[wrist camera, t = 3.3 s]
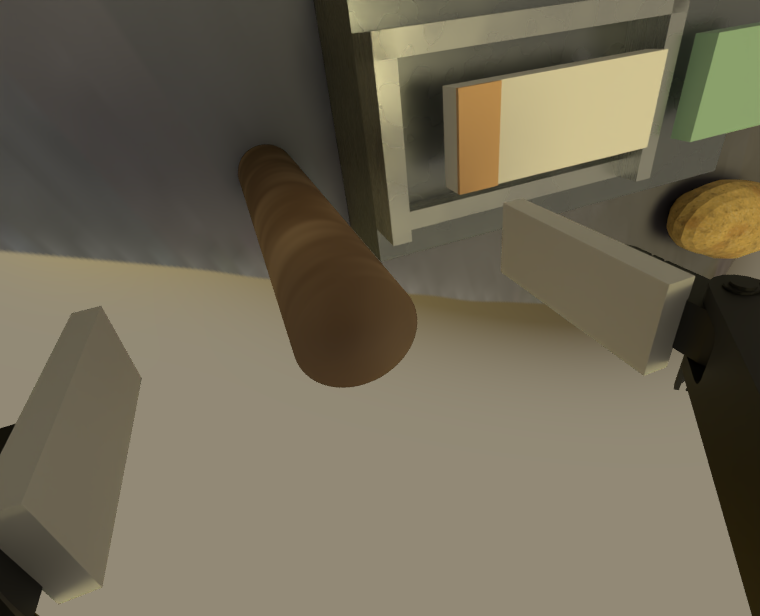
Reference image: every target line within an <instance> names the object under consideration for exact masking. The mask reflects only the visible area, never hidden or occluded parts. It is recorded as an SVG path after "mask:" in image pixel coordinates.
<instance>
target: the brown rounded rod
mask: <svg viewBox="0 0 760 616" xmlns="http://www.w3.org/2000/svg"><path fill="white" fill-rule="evenodd" d="M238 177H239V181H240V184H241V187H242V191H243V194H244V197H245V200H246V203H247V206H248V210H249V213H250V216H251V219H252V222H253V226H254V229H255V232H256V235H257V238H258V242H259V245H260V248H261V251H262V254H263V257H264V261H265V264H266V267H267V270H268V273H269V277H270V280H271V283H272V286H273V289H274V292H275V296H276V299H277V302H278V305H279V308H280V312H281V315H282V318H283V321H284V324H285V327H286V331H287V334H288V337H289V340H290V343H291V346H292V350H293V353H294V356H295V359H296V361H297V363H298V365H299V367H300V368H301V369H302V371H303V372H304V373H305V374H306V375H308V376H309V377H310V378H311V379H313V380H314V381H316V382H318V383H321V384H324V385H327V386H331V387H354V386H359V385H363V384H366V383H369V382H371V381H374V380H376V379H378V378H380V377H382V376H383V375H385V374H386V373H388V372H389V371H390V370H391V369H393V368H394V367H395V366H396V365H397V364H398V363H399V362H400V361H401V360H402V359H403V358H404V356H405V355H406V353H407V352H408V350H409V349H410V347H411V345H412V343H413V340H414V338H415V334H416V330H417V314H416V309H415V306H414V304H413V302H412V300H411V298H410V297H409V295H408V294H407V293H406V292H405V290H404V289H403V288H402V287H401V286H400V285H399V283H398V282H397V281H396V280H395V279H394V278H393V276H392V275H391V274H390V273H389V272H388V271H387V269H386V268H385V267H384V266H383V265H382V264H381V262H380V261H379V260H378V259H377V258H376V256H375V255H374V254H373V253H372V252H371V251H370V249H369V248H368V247H367V246H366V245H365V244H364V242H363V241H362V240H361V239H360V238H359V237H358V235H357V234H356V233H355V232H354V231H353V230H352V228H351V227H350V226H349V225H348V224H347V223H346V221H345V220H344V219H343V218H342V217H341V216H340V214H339V213H338V212H337V211H336V210H335V208H334V207H333V206H332V205H331V204H330V203H329V201H328V200H327V199H326V198H325V197H324V196H323V194H322V193H321V192H320V191H319V190H318V189H317V187H316V186H315V185H314V184H313V183H312V182H311V180H310V179H309V178H308V177H307V176H306V175H305V173H304V172H303V171H302V170H301V169H300V168H299V166H298V165H297V164H296V163H295V162H294V161H293V159H292V158H291V157H290V156H289V155H288V154H287V153H286V152H285V151H284V150H282V149H281V148H279V147H277V146H273V145H265V144H264V145H258V146H255V147H253V148H251V149H250V150H248V151H247V152H246V153H245V154H244V156H243V157H242V159H241V161H240V163H239V168H238Z"/></svg>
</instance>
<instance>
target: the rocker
mask: <svg viewBox="0 0 760 616" xmlns="http://www.w3.org/2000/svg"><path fill="white" fill-rule="evenodd" d="M667 53H668V49H644V50H638V51H633V52H627V53H622V54H616V55H610V56H605V57H599V58H594V59H588V60H583V61H577V62H572V63H566V64H561V65H555V66H550V67H544V68H539V69H533V70H527V71H522V72H516V73H511V74H505V75H500V76H494V77H489V78H483V79H478V80H472V81H467V82H461V83H455V84H450V85H444V86H442V87H443V118H444V149H445V180H446V187H447V188H448V189H450V190H452V191H454V192H455V193H457V194H459V195H462V194H466V193H470V192H474V191H478V190H482V189H486V188H490V187H494V186H498V184H500V183H504V182H508V181H512V180H516V179H520V178H524V177H528V176H532V175H536V174H540V173H544V172H548V171H553V170H557V169H561V168H565V167H569V166H573V165H577V164H581V163H585V162H589V161H593V160H597V159H601V158H605V157H610V156H614V155H618V154H622V153H626V152H630V151H634V150H638V149H642V148H646V147H647V145H648V141H649V136H650V132H651V127H652V122H653V118H654V113H655V109H656V104H657V99H658V95H659V90H660V86H661V81H662V76H663V72H664V67H665V63H666V58H667Z"/></svg>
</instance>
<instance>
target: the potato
mask: <svg viewBox="0 0 760 616" xmlns="http://www.w3.org/2000/svg"><path fill="white" fill-rule="evenodd" d="M667 230H668V233H669V236H670V237H671V238H672V240H673V241H674V242H675V243H676V245H678V246H680V247H682V248H684V249H686V250H689V251H692V252H695V253H699V254H703V255H706V256H710V257H713V258H738V257H741V256H744V255H747V254H750V253H753V252H756V251H759V250H760V183H758V182H753V181H747V180H718V181H715V182H712V183H708V184H706V185H703V186H701V187H699V188H696V189H694V190H691V191H689V192H687V193H684V194H683V195H682V196H680V197H679V198H678V199H676V201H675V202H674V204H673V205H672V207H671V208H670V212H669V216H668V220H667Z"/></svg>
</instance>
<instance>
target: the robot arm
mask: <svg viewBox="0 0 760 616" xmlns="http://www.w3.org/2000/svg"><path fill="white" fill-rule="evenodd" d="M501 272H502V273H503V274H504V275H506V276H507V277H509V278H510V279H511V280H513V281H514V282H515V283H517V284H518V285H520V286H521V287H522V288H524V289H525V290H526V291H528V292H529V293H531V294H532V295H533V296H535V297H536V298H537V299H539V300H540V301H542V302H543V303H544V304H546V305H547V306H548V307H550V308H551V309H553V310H554V311H555V312H557V313H558V314H559V315H561V316H562V317H564V318H565V319H566V320H568V321H569V322H570V323H572V324H573V325H575V326H576V327H577V328H579V329H580V330H581V331H583V332H584V333H586V334H587V335H588V336H590V337H591V338H592V339H594V340H595V341H597V342H598V343H599V344H601V345H602V346H603V347H605V348H606V349H608V350H609V351H610V352H612V353H613V354H614V355H616V356H617V357H619V358H620V359H621V360H623V361H624V362H626V363H627V364H628V365H630V366H631V367H633V368H634V369H635V370H637V371H638V372H639V373H641V374H642V375H643V376H645V375H647V374H649V373H652V372H655V371H657V370H660V369H662V368H665V367H667V364H668V361H669V358H670V355H671V352H672V349H673V348H674V349H676V350H677V351H679V352H681V353H682V354H684V357H683V360H682V363H681V366H680V369H679V372H678V374H677V377H676V380H675V384H674V389H675V390H679V388H680V385H681V383H683V382H684V381H685V383H686V386H687V388H686V391H688V393H689V396H690V400H691V404H692V407H693V410H694V414H695V418H696V421H697V424H698V428H699V431H700V435H701V438H702V442H703V446H704V449H705V452H706V456H707V459H708V463H709V467H710V470H711V474H712V477H713V481H714V484H715V487H716V491H717V494H718V498H719V501H720V505H721V509H722V512H723V516H724V519H725V523H726V526H727V530H728V533H729V537H730V540H731V543H732V547H733V551H734V554H735V557H736V561H737V565H738V568H739V572H740V575H741V579H742V582H743V586H744V589H745V593H746V596H747V600H748V603H749V606H750V610H751V614H752V616H760V280H759V279H754V278H751V277H747V276H741V275H721V276H716V277H713V278H712V279H711V280H710V279H708V278H705V277H703V276H701V275H699V274H696V273H694V272H692V271H690V270H687V269H685V268H683V267H681V266H678V265H676V264H674V263H672V262H669V261H664V259H662V258H660V257H658V256H656V255H653V256H652V254H651V253H649V252H647V251H644V250H642V249H640V248H638V247H635V246H631V245H626V244H623V243H621V242H619V241H616V240H614V239H612V238H610V237H607V236H605V235H603V234H601V233H599V232H596V231H594V230H592V229H590V228H587V227H585V226H583V225H581V224H578V223H576V222H574V221H572V220H570V219H567V218H565V217H563V216H561V215H558V214H556V213H554V212H552V211H549V210H547V209H545V208H543V207H541V206H538V205H536V204H534V203H532V202H529V201H527V200H525V199H523V198H521V199H517V200H513V201H509V202H505V203H503V226H502V254H501ZM141 379H142V378H141V377H140V375H139V373H138V371H137V369H136V367H135V366H134V364H133V362H132V360H131V358H130V357H129V355H128V353H127V351H126V349H125V348H124V346H123V344H122V342H121V340H120V339H119V337H118V335H117V333H116V332H115V330H114V328H113V326H112V324H111V323H110V321H109V319H108V317H107V316H106V314H105V312H104V310H103V309H102V307H101V306H99V307H95V308H91V309H87V310H84V311H79V312H75V313H72V314H71V316H70V318H69V320H68V322H67V324H66V326H65V328H64V330H63V332H62V334H61V336H60V337H59V339H58V342H57V343H56V345H55V348H54V349H53V351H52V353H51V356H50V357H49V359H48V361H47V363H46V365H45V367H44V369H43V371H42V373H41V375H40V377H39V379H38V381H37V383H36V385H35V387H34V389H33V391H32V393H31V395H30V397H29V399H28V401H27V403H26V405H25V407H24V409H23V411H22V413H21V415H20V416H19V419H18V420H17V422H16V424H13V425H10V426H7V427H3V428H0V616H39V615H38V614H36V613H35V611H36V608H37V605H38V601H39V598H40V595H41V591H42V590H43V591H44V592H46V594H47V595H49V596H50V597H51V598H52V599H53V600H54V601H55V602H56V603H58V604H61V603H63V602H66V601H69V600H71V599H73V598H76V597H79V596H81V595H84V594H87V593H89V592H91V591H94V590H97V589H99V588H102V586H103V580H104V575H105V569H106V564H107V559H108V554H109V548H110V543H111V538H112V532H113V527H114V522H115V517H116V511H117V506H118V501H119V495H120V490H121V485H122V479H123V474H124V468H125V463H126V458H127V453H128V448H129V442H130V437H131V432H132V427H133V421H134V416H135V411H136V405H137V400H138V395H139V389H140V384H141Z"/></svg>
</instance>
